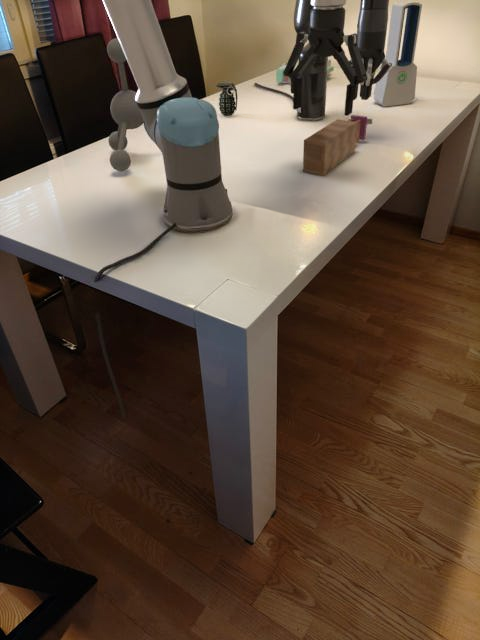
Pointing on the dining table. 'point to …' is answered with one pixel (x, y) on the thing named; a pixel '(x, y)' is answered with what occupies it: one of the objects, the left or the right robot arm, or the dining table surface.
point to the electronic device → (403, 72)
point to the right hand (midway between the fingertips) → (364, 99)
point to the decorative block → (286, 79)
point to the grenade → (227, 99)
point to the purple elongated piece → (360, 126)
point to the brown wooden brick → (329, 147)
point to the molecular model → (122, 111)
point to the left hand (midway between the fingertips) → (321, 111)
